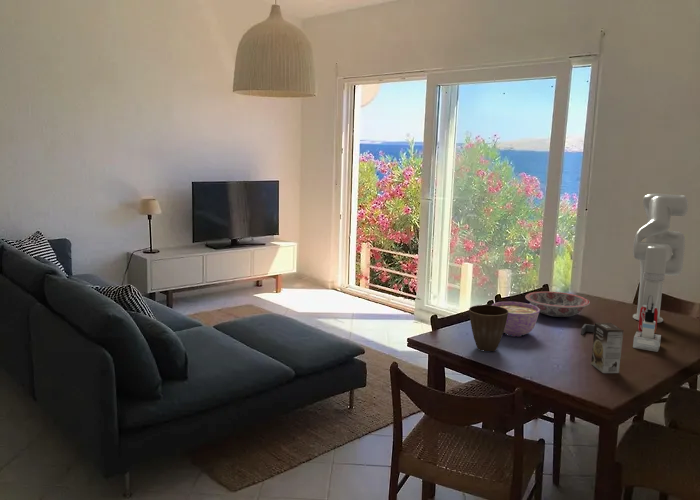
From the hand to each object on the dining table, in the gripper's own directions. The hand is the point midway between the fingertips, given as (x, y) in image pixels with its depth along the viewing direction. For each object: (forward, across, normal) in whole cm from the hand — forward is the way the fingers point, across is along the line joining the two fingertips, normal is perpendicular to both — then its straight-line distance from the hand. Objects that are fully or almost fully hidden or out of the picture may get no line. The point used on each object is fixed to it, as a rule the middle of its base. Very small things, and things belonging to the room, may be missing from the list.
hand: (649, 321), depth 237 cm
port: (+11, 0, 0) cm, 11 cm away
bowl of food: (+11, +14, -50) cm, 53 cm away
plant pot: (+11, +40, -53) cm, 67 cm away
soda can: (+11, -21, -2) cm, 24 cm away
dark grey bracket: (+11, -5, -22) cm, 25 cm away
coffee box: (+11, +36, -10) cm, 39 cm away
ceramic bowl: (+11, -27, -42) cm, 51 cm away
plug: (+10, 0, 0) cm, 10 cm away
